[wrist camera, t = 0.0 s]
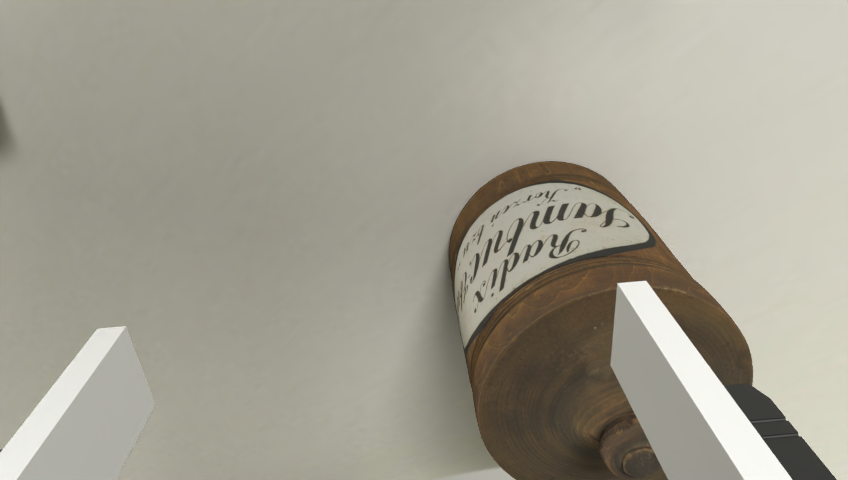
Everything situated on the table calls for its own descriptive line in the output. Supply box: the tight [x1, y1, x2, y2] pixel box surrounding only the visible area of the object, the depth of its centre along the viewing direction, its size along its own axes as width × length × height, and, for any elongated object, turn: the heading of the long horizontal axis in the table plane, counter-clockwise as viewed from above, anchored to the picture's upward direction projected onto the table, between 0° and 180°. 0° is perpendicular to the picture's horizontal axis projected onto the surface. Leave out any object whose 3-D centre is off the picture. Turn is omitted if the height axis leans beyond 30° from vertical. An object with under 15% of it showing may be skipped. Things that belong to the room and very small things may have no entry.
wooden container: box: [449, 161, 753, 480], centre depth 37 cm, size 15×15×22 cm
